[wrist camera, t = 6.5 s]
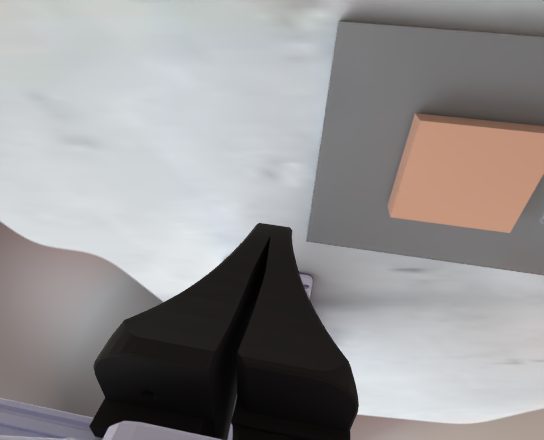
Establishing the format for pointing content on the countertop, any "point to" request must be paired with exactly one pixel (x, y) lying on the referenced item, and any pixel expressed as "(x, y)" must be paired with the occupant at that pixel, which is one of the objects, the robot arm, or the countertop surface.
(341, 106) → the slate board
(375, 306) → the countertop surface
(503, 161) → the tile
